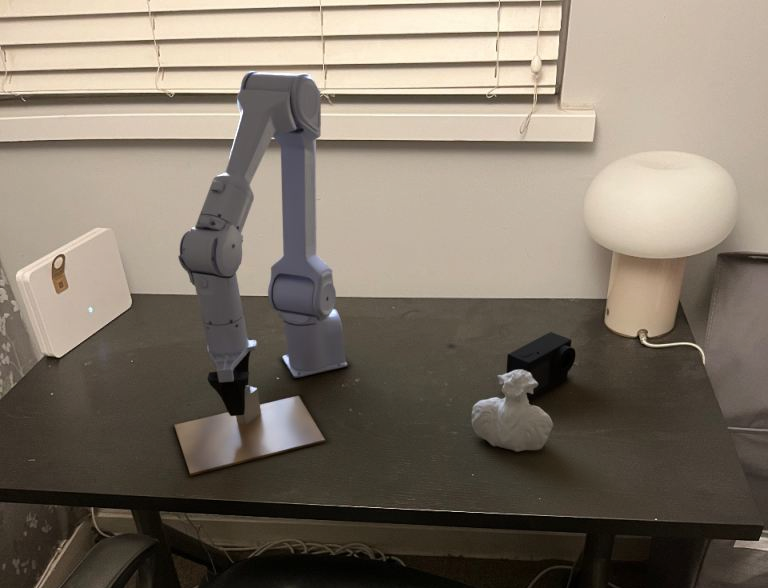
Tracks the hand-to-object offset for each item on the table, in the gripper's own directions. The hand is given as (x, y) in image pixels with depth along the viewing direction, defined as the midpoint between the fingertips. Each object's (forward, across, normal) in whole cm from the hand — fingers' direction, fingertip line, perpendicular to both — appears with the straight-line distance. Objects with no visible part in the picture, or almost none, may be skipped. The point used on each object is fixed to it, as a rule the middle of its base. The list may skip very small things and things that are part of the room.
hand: (239, 400), depth 115 cm
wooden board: (+4, -3, -1) cm, 5 cm away
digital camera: (+4, +4, -47) cm, 47 cm away
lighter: (+4, 0, 0) cm, 4 cm away
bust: (+4, -10, -40) cm, 41 cm away
